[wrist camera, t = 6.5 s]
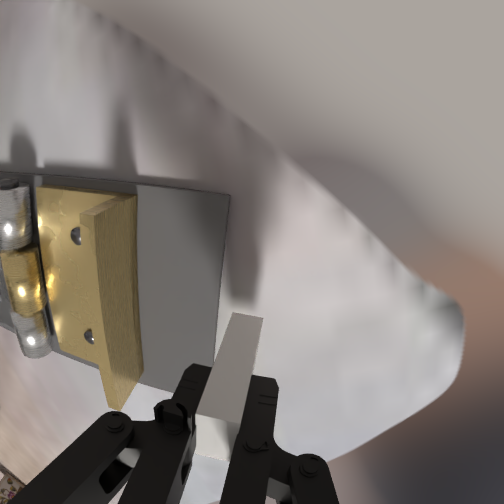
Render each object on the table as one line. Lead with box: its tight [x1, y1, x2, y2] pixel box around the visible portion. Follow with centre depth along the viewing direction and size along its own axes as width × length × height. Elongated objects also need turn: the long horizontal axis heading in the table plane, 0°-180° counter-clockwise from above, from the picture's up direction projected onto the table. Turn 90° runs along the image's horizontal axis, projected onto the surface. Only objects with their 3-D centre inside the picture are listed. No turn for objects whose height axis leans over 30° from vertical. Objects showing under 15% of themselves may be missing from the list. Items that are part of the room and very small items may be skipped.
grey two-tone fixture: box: [0, 172, 230, 393], centre depth 19 cm, size 25×14×1 cm, turn 83°
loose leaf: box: [0, 184, 144, 411], centre depth 16 cm, size 10×12×4 cm
